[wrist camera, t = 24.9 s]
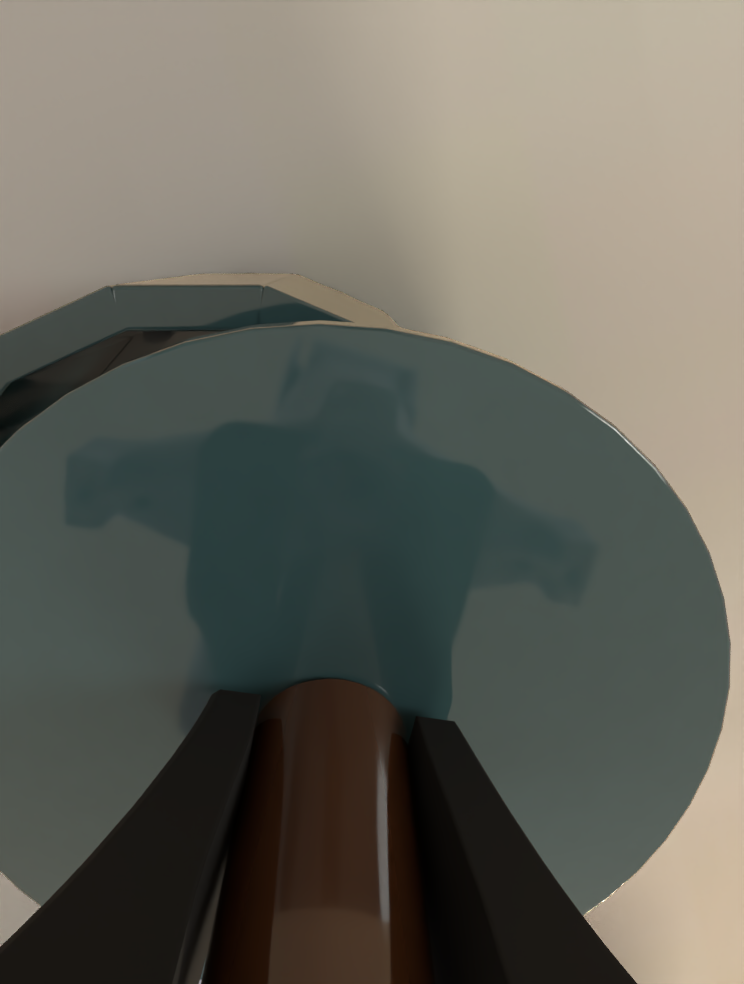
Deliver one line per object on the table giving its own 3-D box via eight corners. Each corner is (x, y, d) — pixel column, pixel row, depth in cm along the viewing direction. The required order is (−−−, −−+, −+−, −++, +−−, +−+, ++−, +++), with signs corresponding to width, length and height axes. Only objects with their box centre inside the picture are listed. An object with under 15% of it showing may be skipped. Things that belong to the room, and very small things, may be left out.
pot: (280, 726, 21) (251, 924, 14) (-35, 496, 17) (-242, 627, 11) (555, 489, 18) (662, 610, 12) (243, 162, 15) (167, 97, 8)
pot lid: (339, 1015, 14) (333, 1473, 9) (-198, 702, 10) (-749, 1152, 5) (833, 682, 11) (1269, 1068, 6) (316, 93, 8) (242, -277, 2)
